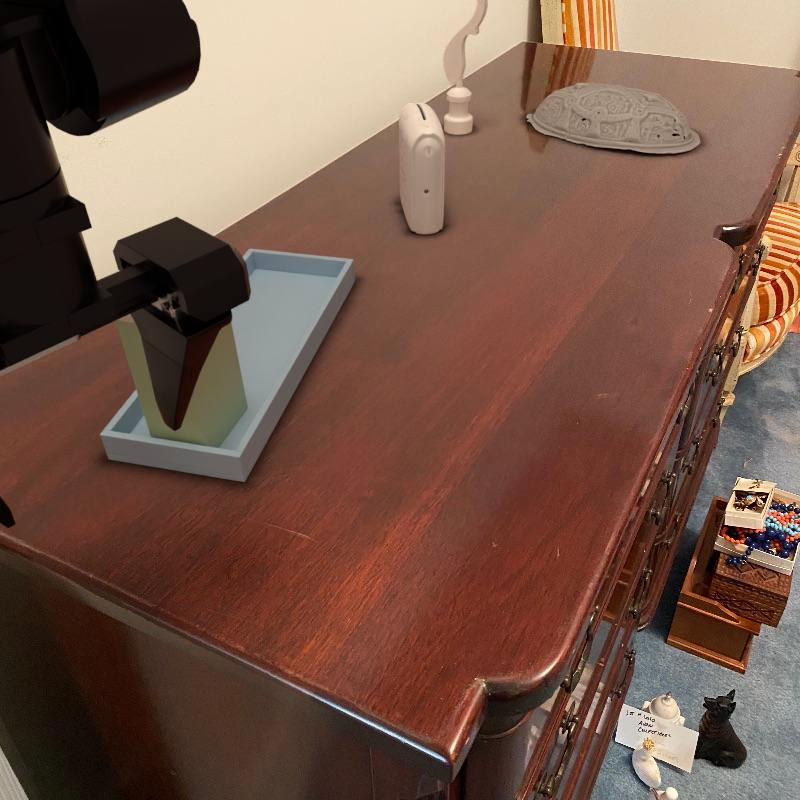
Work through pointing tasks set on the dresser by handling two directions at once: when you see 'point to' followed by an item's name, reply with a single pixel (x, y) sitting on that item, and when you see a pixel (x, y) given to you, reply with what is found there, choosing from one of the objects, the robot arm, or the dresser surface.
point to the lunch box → (212, 397)
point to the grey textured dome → (614, 119)
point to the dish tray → (251, 364)
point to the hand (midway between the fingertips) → (95, 471)
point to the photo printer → (422, 168)
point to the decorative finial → (460, 75)
